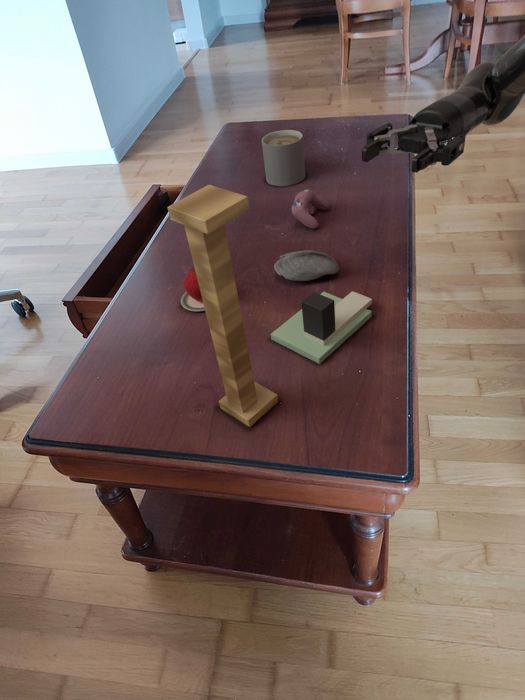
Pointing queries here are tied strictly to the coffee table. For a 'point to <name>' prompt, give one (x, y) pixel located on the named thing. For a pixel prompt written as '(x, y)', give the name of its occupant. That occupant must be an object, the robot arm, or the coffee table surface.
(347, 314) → the wooden mallet
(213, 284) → the stand
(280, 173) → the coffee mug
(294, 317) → the pale green rectangular panel
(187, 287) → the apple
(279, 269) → the seashell
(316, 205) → the video game controller
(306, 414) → the coffee table surface
